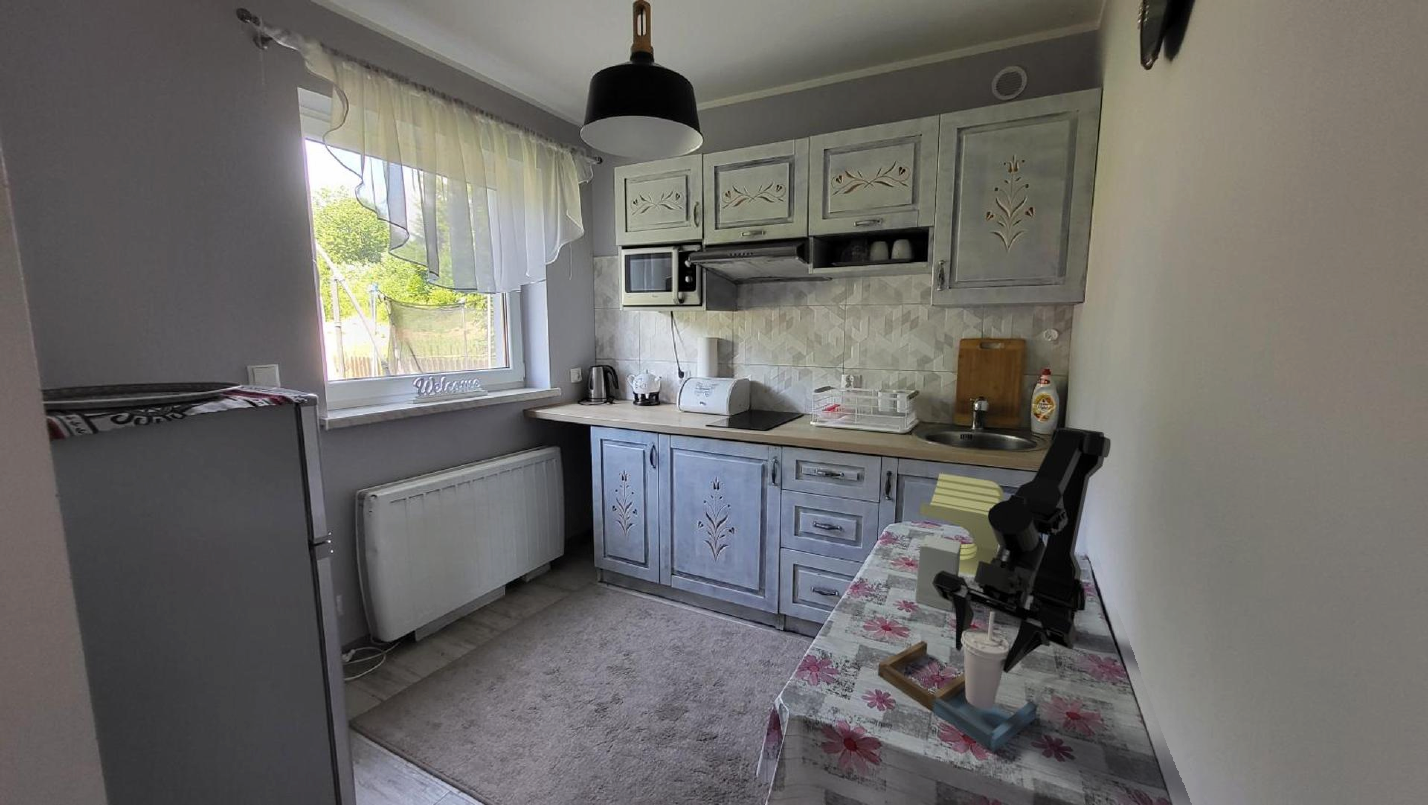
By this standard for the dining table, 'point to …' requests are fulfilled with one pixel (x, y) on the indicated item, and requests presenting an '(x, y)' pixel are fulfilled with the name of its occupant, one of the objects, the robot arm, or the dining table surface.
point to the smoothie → (983, 664)
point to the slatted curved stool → (967, 515)
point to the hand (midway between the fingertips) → (980, 660)
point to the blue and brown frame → (957, 703)
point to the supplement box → (936, 568)
